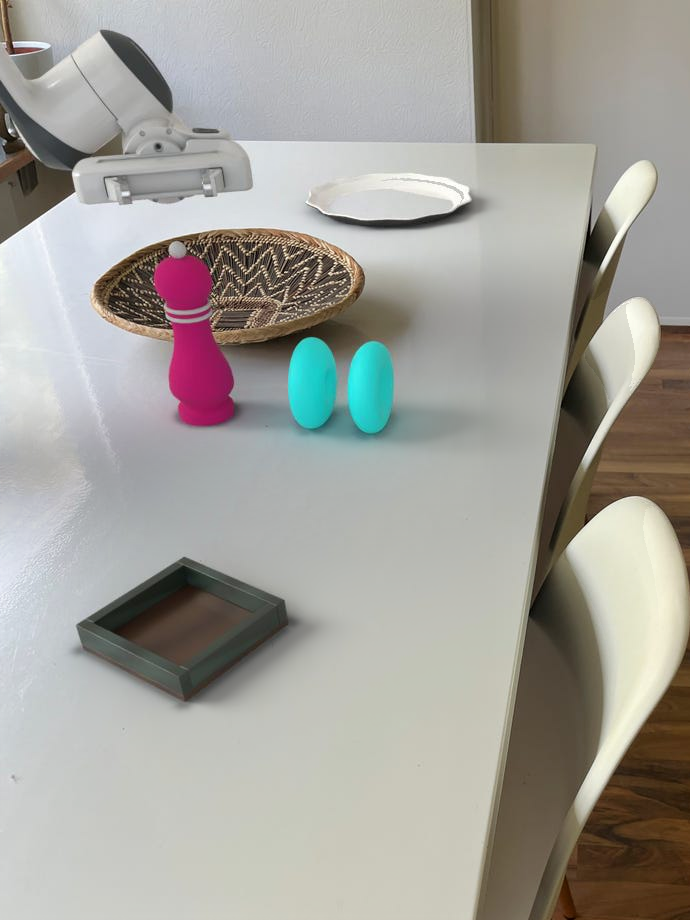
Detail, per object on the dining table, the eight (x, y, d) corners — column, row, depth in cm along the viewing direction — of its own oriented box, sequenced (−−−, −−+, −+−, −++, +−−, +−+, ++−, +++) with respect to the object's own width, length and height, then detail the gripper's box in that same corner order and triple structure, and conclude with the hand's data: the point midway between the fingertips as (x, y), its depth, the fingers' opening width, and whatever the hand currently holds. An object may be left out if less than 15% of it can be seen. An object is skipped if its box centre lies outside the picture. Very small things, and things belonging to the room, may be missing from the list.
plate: (499, 198, 189) (499, 184, 188) (419, 243, 169) (418, 228, 167) (365, 178, 200) (365, 165, 198) (275, 218, 180) (273, 204, 178)
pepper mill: (197, 399, 123) (165, 228, 110) (250, 408, 121) (224, 234, 108) (164, 425, 117) (126, 248, 105) (219, 435, 116) (187, 256, 103)
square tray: (84, 653, 85) (75, 624, 83) (190, 583, 93) (184, 556, 91) (186, 706, 80) (178, 677, 78) (289, 628, 88) (285, 599, 86)
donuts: (316, 404, 122) (307, 322, 116) (398, 410, 120) (393, 328, 114) (290, 443, 114) (279, 358, 108) (377, 450, 113) (371, 364, 107)
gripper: (65, 141, 121) (63, 171, 111) (240, 128, 125) (253, 155, 115) (79, 197, 125) (78, 231, 115) (247, 182, 129) (261, 214, 119)
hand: (167, 193), depth 115 cm, fingers open, 8 cm apart
